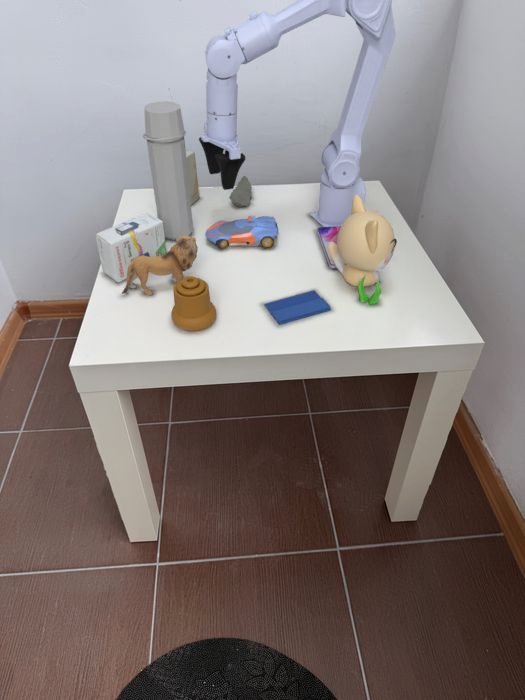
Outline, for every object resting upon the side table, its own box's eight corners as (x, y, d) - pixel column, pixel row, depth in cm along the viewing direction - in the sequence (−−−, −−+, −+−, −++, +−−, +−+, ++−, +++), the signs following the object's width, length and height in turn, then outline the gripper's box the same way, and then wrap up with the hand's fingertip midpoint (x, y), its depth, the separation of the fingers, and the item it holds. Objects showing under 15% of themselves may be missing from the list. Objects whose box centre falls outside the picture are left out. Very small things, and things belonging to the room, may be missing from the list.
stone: (226, 206, 116) (247, 212, 116) (227, 198, 114) (248, 205, 114) (239, 179, 124) (258, 186, 125) (240, 172, 123) (260, 178, 123)
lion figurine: (195, 269, 97) (190, 227, 91) (205, 284, 94) (201, 241, 88) (119, 288, 92) (109, 245, 86) (126, 304, 89) (117, 261, 83)
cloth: (314, 291, 92) (314, 288, 92) (330, 310, 88) (331, 307, 88) (264, 305, 89) (264, 302, 89) (279, 325, 85) (279, 322, 85)
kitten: (401, 303, 90) (419, 227, 80) (346, 309, 88) (358, 233, 78) (372, 258, 101) (385, 186, 90) (323, 263, 99) (331, 190, 89)
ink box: (148, 211, 96) (92, 232, 90) (164, 221, 94) (108, 243, 87) (153, 250, 102) (101, 272, 96) (169, 260, 100) (117, 284, 93)
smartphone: (329, 266, 97) (316, 227, 108) (329, 269, 97) (315, 230, 108) (367, 263, 97) (349, 225, 108) (366, 267, 98) (349, 228, 109)
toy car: (205, 231, 108) (204, 208, 104) (275, 229, 109) (276, 206, 105) (205, 251, 102) (203, 227, 98) (279, 249, 103) (280, 225, 99)
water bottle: (200, 236, 106) (189, 110, 89) (164, 245, 103) (146, 116, 86) (185, 217, 112) (172, 95, 95) (151, 225, 109) (131, 101, 92)
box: (200, 198, 119) (196, 151, 112) (190, 206, 116) (186, 158, 109) (181, 194, 121) (176, 147, 113) (171, 201, 118) (165, 154, 110)
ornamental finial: (211, 302, 89) (220, 329, 84) (169, 309, 88) (175, 336, 83) (208, 264, 84) (217, 290, 79) (163, 270, 83) (169, 297, 77)
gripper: (188, 100, 98) (191, 168, 107) (215, 125, 89) (215, 198, 98) (222, 98, 101) (222, 165, 110) (252, 122, 91) (248, 193, 100)
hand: (221, 180), depth 104 cm, fingers open, 7 cm apart
